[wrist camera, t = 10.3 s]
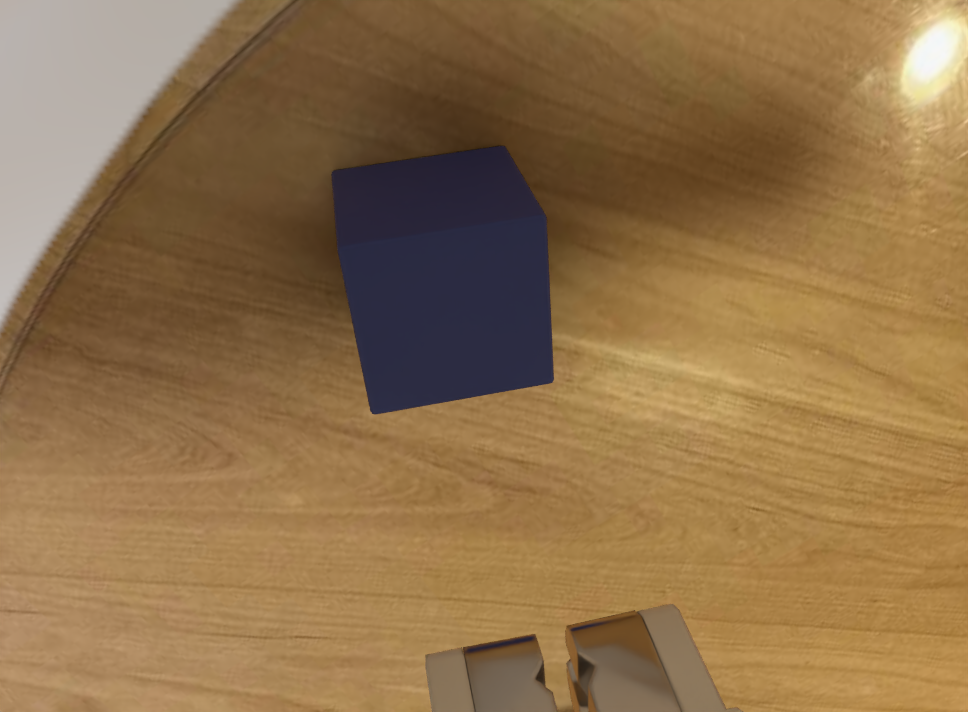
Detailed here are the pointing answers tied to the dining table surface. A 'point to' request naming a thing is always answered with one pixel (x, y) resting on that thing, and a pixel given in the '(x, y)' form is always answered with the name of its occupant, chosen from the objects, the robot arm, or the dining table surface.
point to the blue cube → (444, 277)
